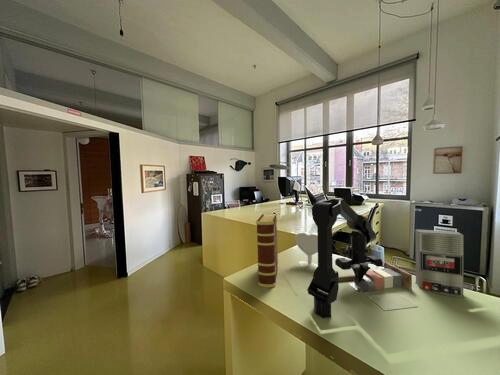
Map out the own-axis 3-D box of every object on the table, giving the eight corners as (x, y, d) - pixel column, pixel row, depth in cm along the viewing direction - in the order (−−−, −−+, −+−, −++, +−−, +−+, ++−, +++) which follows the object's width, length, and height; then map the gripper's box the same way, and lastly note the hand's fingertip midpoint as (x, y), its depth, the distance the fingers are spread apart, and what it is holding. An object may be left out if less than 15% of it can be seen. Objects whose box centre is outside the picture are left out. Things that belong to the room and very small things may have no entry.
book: (402, 287, 87) (402, 275, 86) (393, 288, 86) (393, 275, 86) (388, 279, 94) (388, 268, 93) (380, 280, 93) (380, 268, 93)
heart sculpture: (295, 263, 118) (294, 232, 117) (298, 260, 122) (297, 230, 121) (322, 269, 108) (322, 235, 108) (325, 265, 113) (324, 233, 112)
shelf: (413, 292, 84) (413, 274, 84) (339, 301, 79) (339, 282, 79) (388, 278, 97) (388, 261, 97) (323, 285, 92) (322, 268, 92)
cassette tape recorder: (419, 292, 84) (419, 232, 83) (415, 285, 90) (414, 229, 89) (465, 300, 78) (465, 235, 77) (457, 292, 84) (457, 231, 83)
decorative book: (275, 288, 91) (273, 221, 90) (257, 287, 92) (255, 221, 91) (278, 267, 113) (276, 213, 112) (263, 266, 114) (262, 213, 113)
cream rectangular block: (393, 288, 86) (393, 276, 86) (384, 289, 85) (384, 276, 85) (380, 280, 93) (380, 268, 93) (372, 281, 92) (372, 269, 92)
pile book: (418, 312, 73) (418, 306, 73) (385, 316, 71) (385, 310, 71) (396, 298, 82) (396, 292, 82) (367, 301, 80) (367, 295, 80)
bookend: (375, 292, 84) (375, 281, 84) (360, 294, 83) (360, 283, 83) (360, 281, 93) (360, 271, 92) (346, 283, 92) (346, 273, 92)
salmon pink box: (382, 290, 85) (382, 277, 85) (374, 291, 85) (373, 278, 84) (370, 281, 92) (370, 270, 92) (362, 282, 92) (362, 270, 91)
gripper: (365, 239, 96) (365, 271, 97) (328, 241, 94) (328, 275, 94) (383, 246, 85) (383, 283, 86) (342, 249, 83) (343, 287, 83)
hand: (358, 281), depth 88 cm, fingers closed
